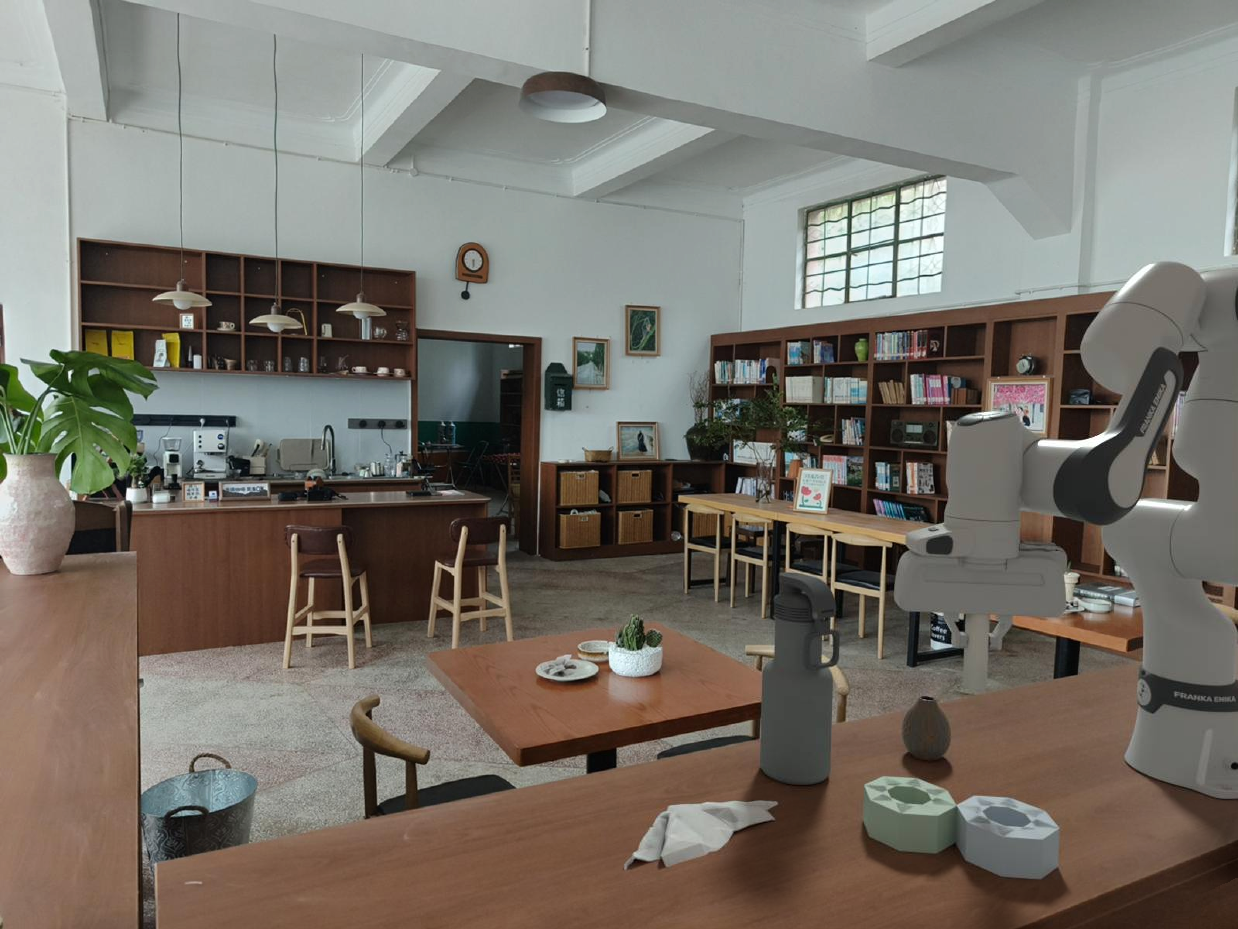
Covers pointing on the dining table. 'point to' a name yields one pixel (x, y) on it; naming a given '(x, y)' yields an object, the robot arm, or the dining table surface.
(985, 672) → the dowel
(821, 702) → the water bottle
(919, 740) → the vase
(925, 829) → the bead
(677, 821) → the cloth
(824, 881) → the dining table surface
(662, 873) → the dining table surface
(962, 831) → the bead
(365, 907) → the dining table surface
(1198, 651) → the robot arm
